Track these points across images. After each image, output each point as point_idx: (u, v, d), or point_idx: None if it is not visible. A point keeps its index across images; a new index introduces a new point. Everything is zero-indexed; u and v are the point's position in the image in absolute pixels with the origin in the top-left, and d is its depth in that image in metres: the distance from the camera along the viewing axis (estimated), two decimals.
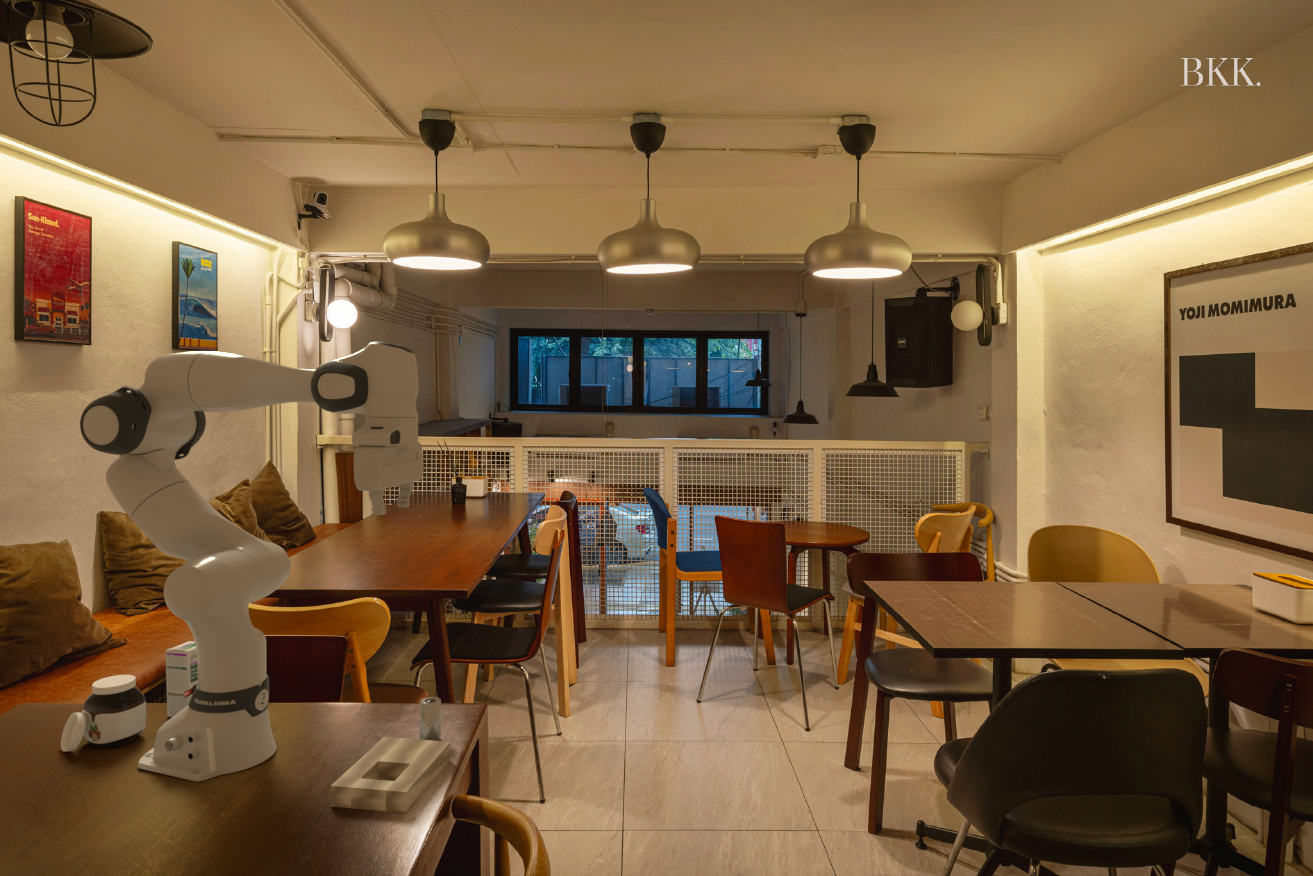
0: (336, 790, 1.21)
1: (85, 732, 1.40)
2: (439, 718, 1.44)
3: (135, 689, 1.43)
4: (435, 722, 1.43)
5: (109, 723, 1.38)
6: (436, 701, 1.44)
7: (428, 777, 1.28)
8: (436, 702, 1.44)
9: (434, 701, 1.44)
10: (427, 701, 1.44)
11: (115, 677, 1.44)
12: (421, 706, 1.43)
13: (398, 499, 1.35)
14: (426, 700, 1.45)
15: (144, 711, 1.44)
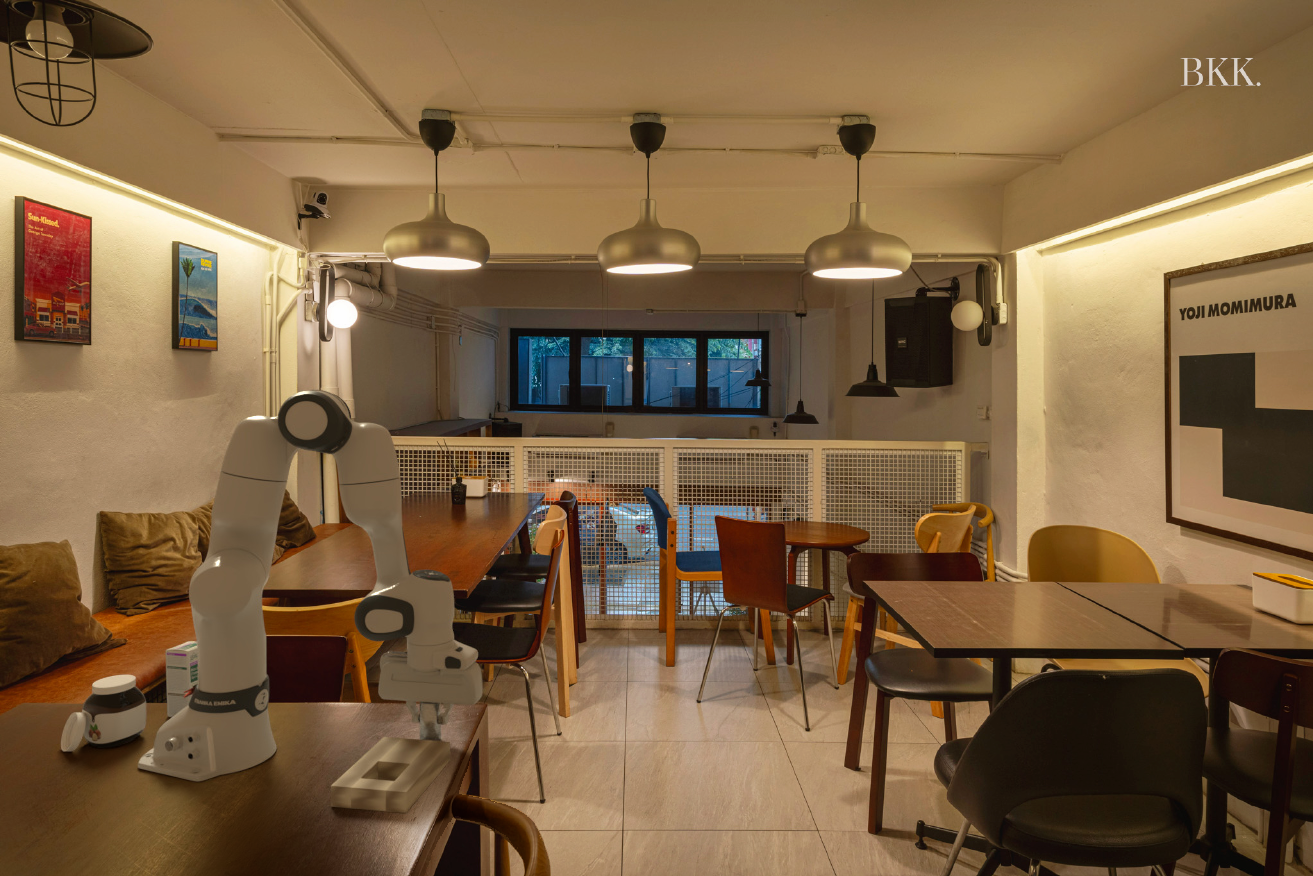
0: (336, 790, 1.21)
1: (85, 732, 1.40)
2: None
3: (135, 689, 1.43)
4: (435, 722, 1.43)
5: (109, 723, 1.38)
6: None
7: (428, 777, 1.28)
8: None
9: None
10: None
11: (115, 677, 1.44)
12: (421, 706, 1.43)
13: (419, 715, 1.44)
14: None
15: (144, 711, 1.44)
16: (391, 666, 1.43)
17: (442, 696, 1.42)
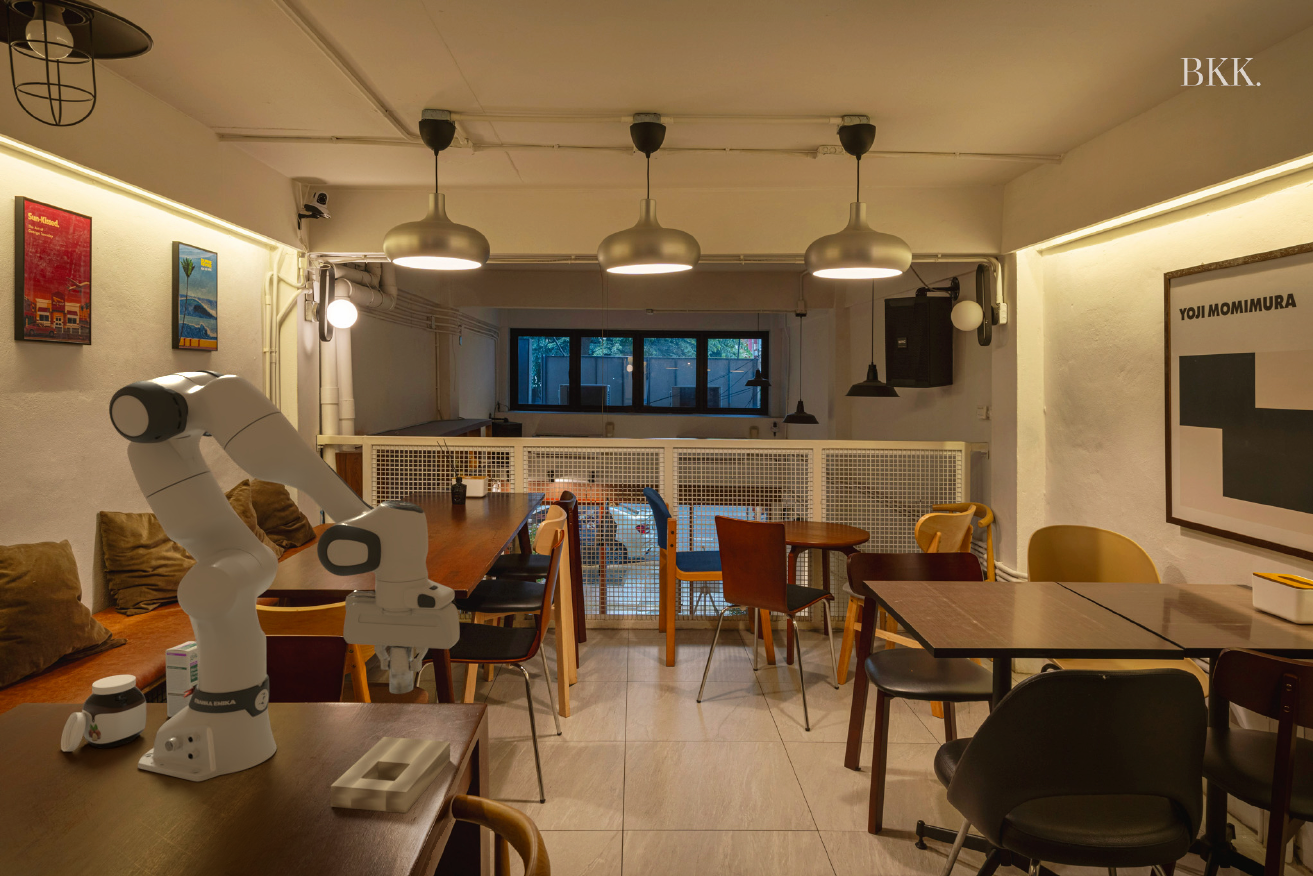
0: (336, 790, 1.21)
1: (85, 732, 1.40)
2: None
3: (135, 689, 1.43)
4: (406, 668, 1.30)
5: (109, 723, 1.38)
6: None
7: (428, 777, 1.28)
8: None
9: None
10: None
11: (115, 676, 1.44)
12: (391, 650, 1.29)
13: (389, 661, 1.31)
14: None
15: (144, 711, 1.44)
16: (358, 607, 1.29)
17: (414, 639, 1.29)
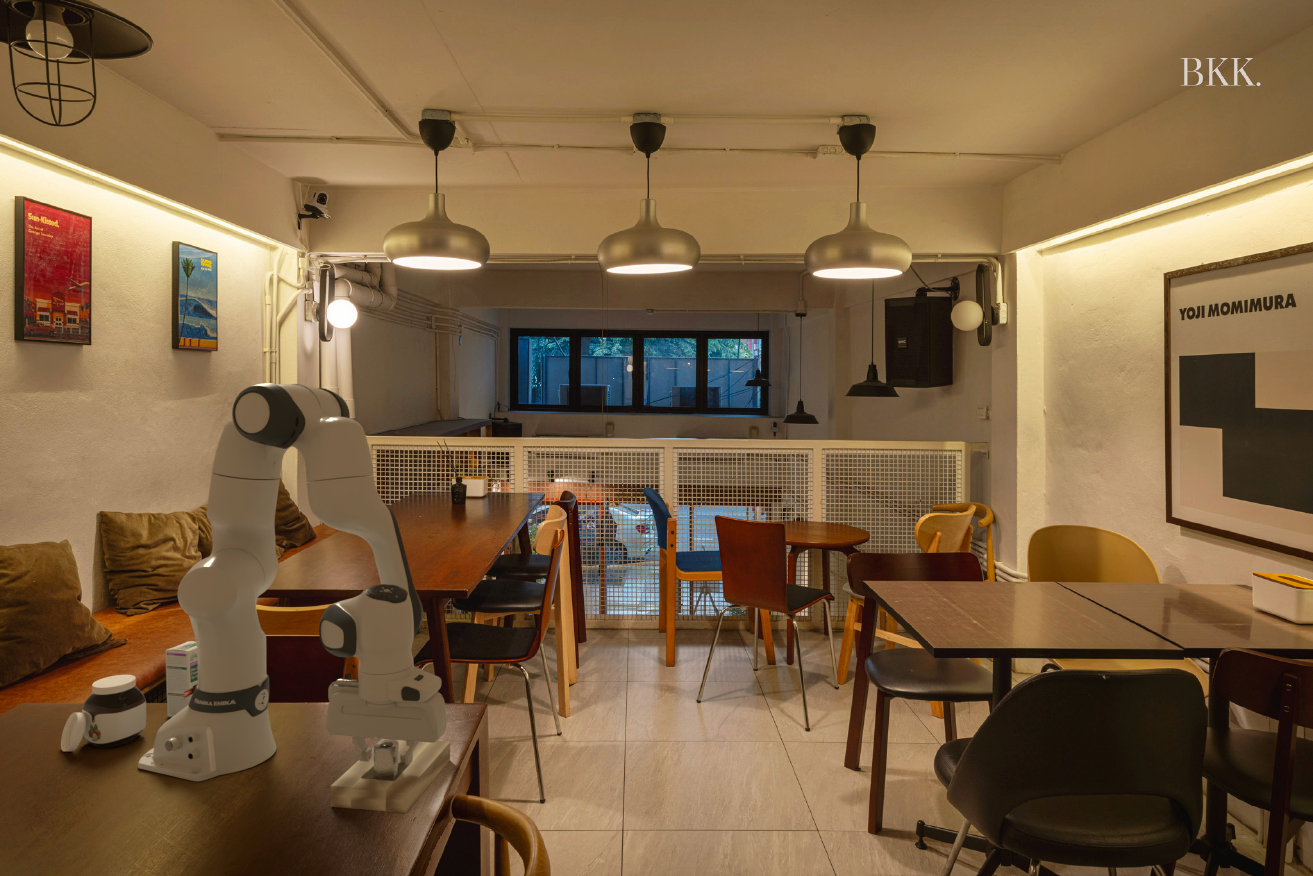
0: (336, 790, 1.21)
1: (85, 732, 1.40)
2: (396, 765, 1.26)
3: (135, 689, 1.43)
4: (391, 770, 1.25)
5: (109, 723, 1.38)
6: (393, 745, 1.26)
7: (428, 777, 1.28)
8: (393, 747, 1.25)
9: (390, 745, 1.26)
10: (382, 745, 1.26)
11: (115, 676, 1.44)
12: (375, 752, 1.24)
13: (367, 753, 1.26)
14: (381, 744, 1.26)
15: (144, 711, 1.44)
16: (341, 697, 1.24)
17: (399, 732, 1.23)
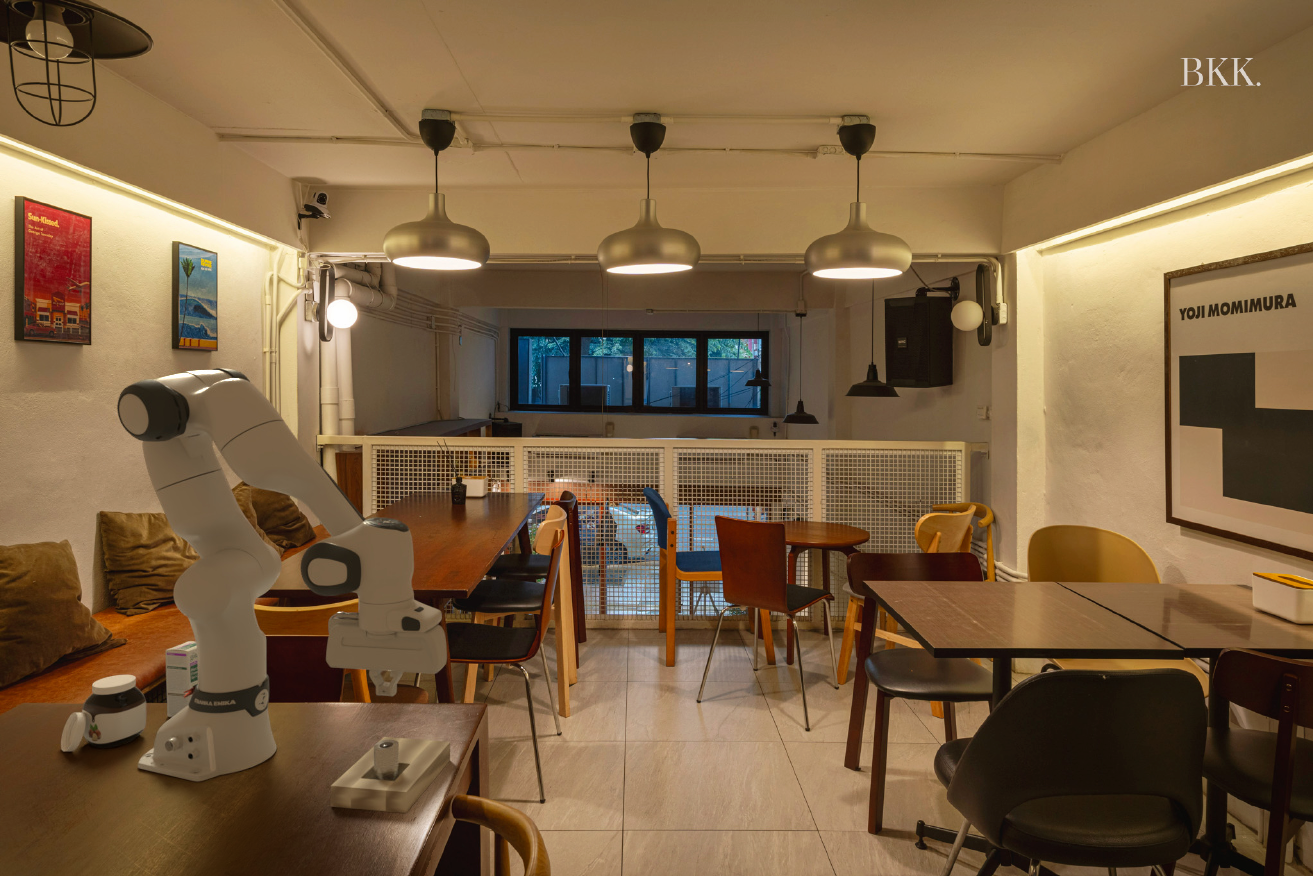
0: (336, 790, 1.21)
1: (85, 732, 1.40)
2: (396, 765, 1.26)
3: (135, 689, 1.43)
4: (391, 770, 1.25)
5: (109, 723, 1.38)
6: (393, 745, 1.26)
7: (428, 777, 1.28)
8: (393, 747, 1.25)
9: (390, 745, 1.26)
10: (382, 745, 1.25)
11: (115, 677, 1.44)
12: (375, 752, 1.24)
13: (384, 687, 1.25)
14: (381, 744, 1.26)
15: (144, 711, 1.44)
16: (341, 629, 1.24)
17: (399, 663, 1.23)
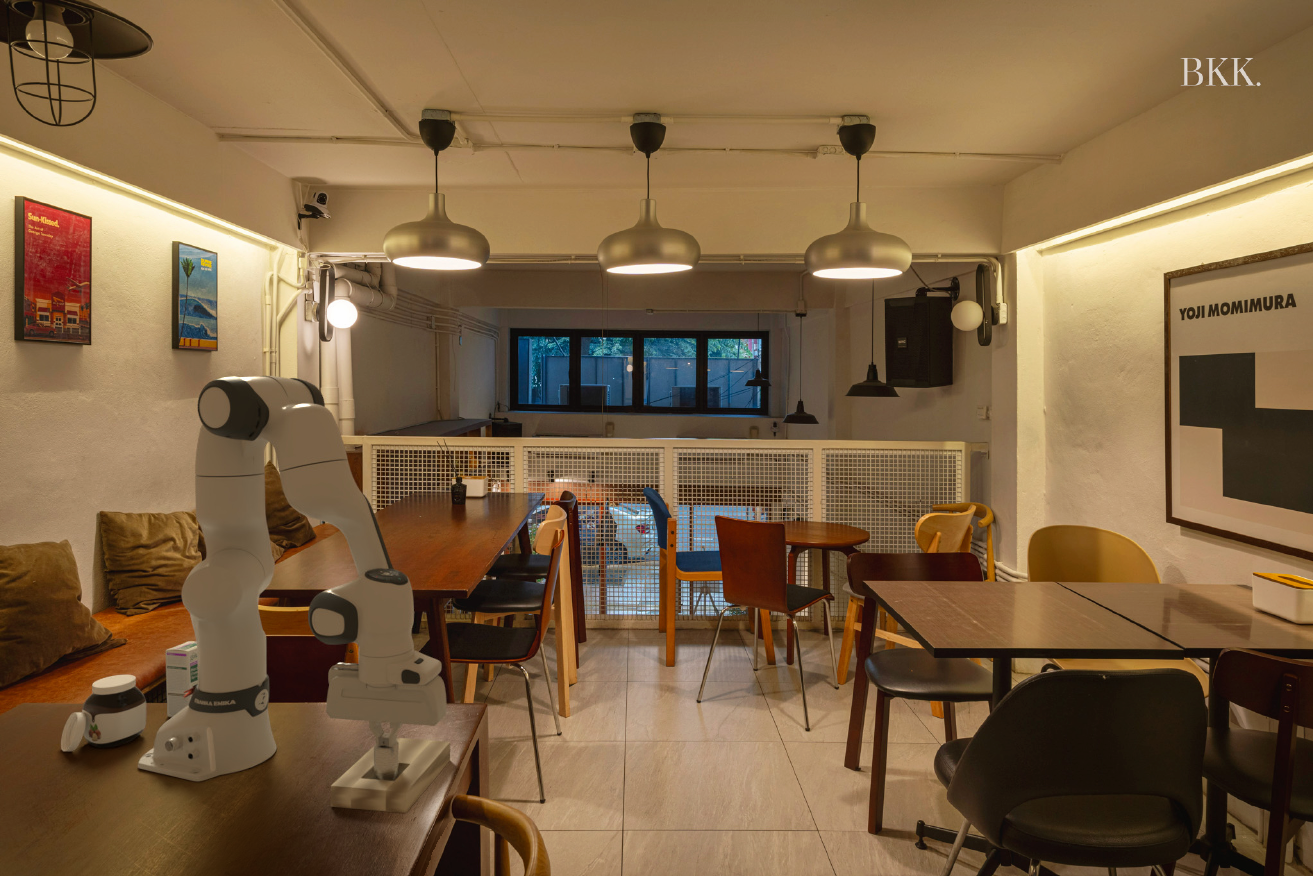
0: (336, 790, 1.21)
1: (85, 732, 1.40)
2: (396, 765, 1.26)
3: (135, 689, 1.43)
4: (391, 770, 1.25)
5: (109, 723, 1.38)
6: None
7: (428, 777, 1.28)
8: (393, 747, 1.25)
9: None
10: (382, 746, 1.26)
11: (115, 676, 1.44)
12: (375, 752, 1.24)
13: (384, 738, 1.25)
14: None
15: (144, 711, 1.44)
16: (341, 680, 1.24)
17: (399, 715, 1.23)
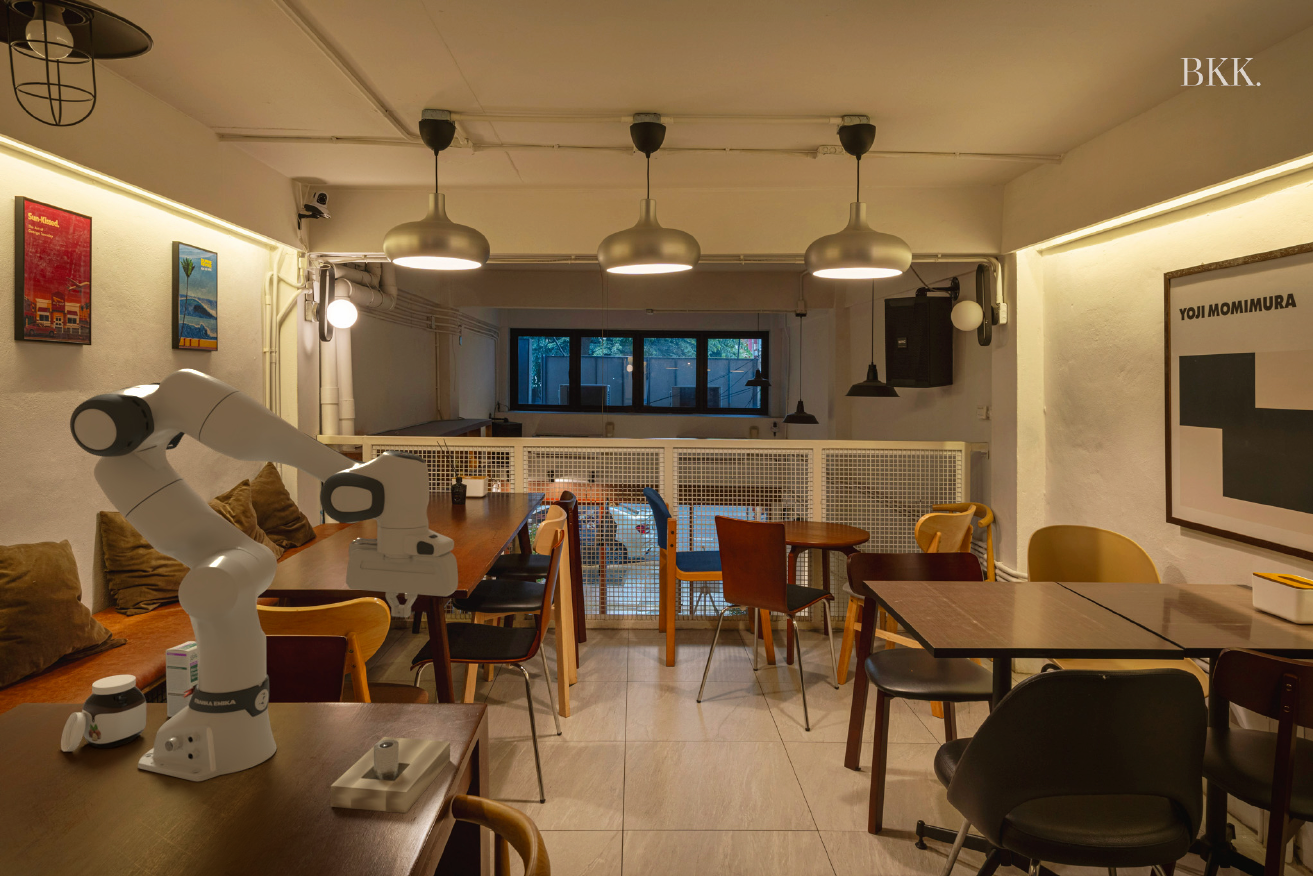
0: (336, 790, 1.21)
1: (85, 732, 1.40)
2: (396, 765, 1.26)
3: (135, 689, 1.43)
4: (391, 770, 1.25)
5: (109, 723, 1.38)
6: (393, 745, 1.26)
7: (428, 777, 1.28)
8: (393, 747, 1.25)
9: (390, 745, 1.26)
10: (382, 745, 1.25)
11: (115, 677, 1.44)
12: (375, 752, 1.24)
13: (399, 608, 1.33)
14: (381, 744, 1.26)
15: (144, 711, 1.44)
16: (360, 553, 1.33)
17: (413, 586, 1.32)
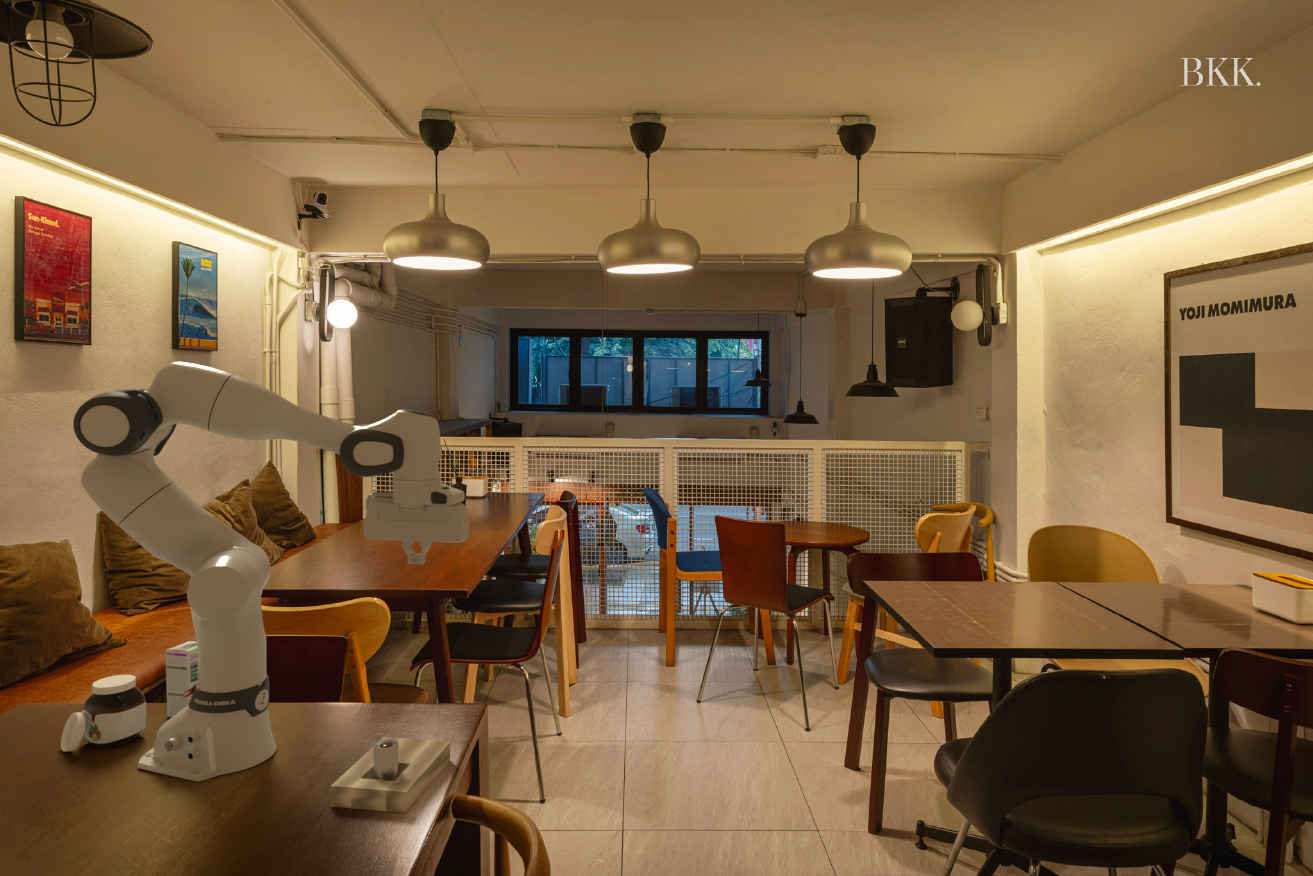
0: (336, 790, 1.21)
1: (85, 732, 1.40)
2: (396, 765, 1.26)
3: (135, 689, 1.43)
4: (391, 770, 1.25)
5: (109, 723, 1.38)
6: (393, 745, 1.26)
7: (428, 777, 1.28)
8: (393, 747, 1.25)
9: (390, 745, 1.26)
10: (382, 745, 1.26)
11: (115, 676, 1.44)
12: (375, 752, 1.24)
13: (415, 556, 1.43)
14: (381, 744, 1.26)
15: (144, 711, 1.44)
16: (377, 505, 1.42)
17: (428, 534, 1.41)
